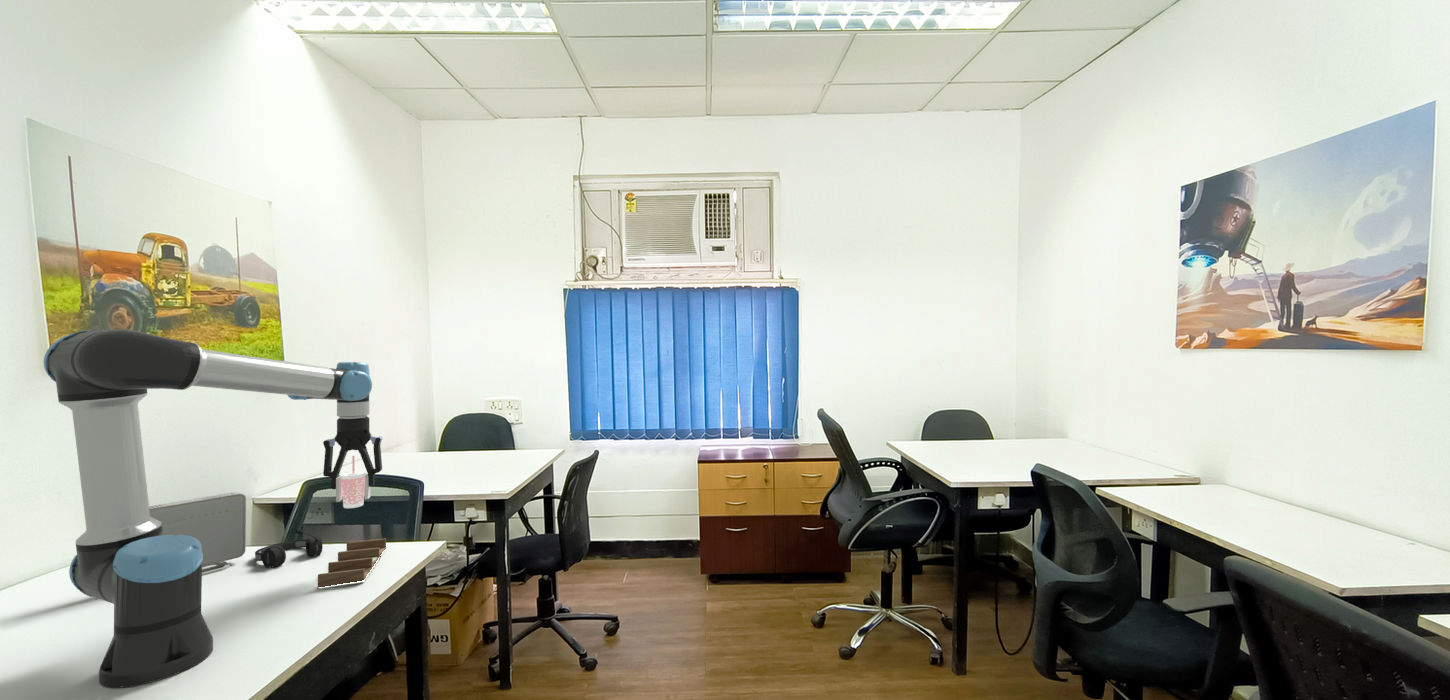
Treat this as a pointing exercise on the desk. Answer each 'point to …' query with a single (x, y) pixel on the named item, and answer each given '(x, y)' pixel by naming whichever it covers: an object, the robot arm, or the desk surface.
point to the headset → (277, 554)
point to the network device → (208, 525)
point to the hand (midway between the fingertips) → (353, 499)
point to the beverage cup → (353, 488)
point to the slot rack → (353, 562)
